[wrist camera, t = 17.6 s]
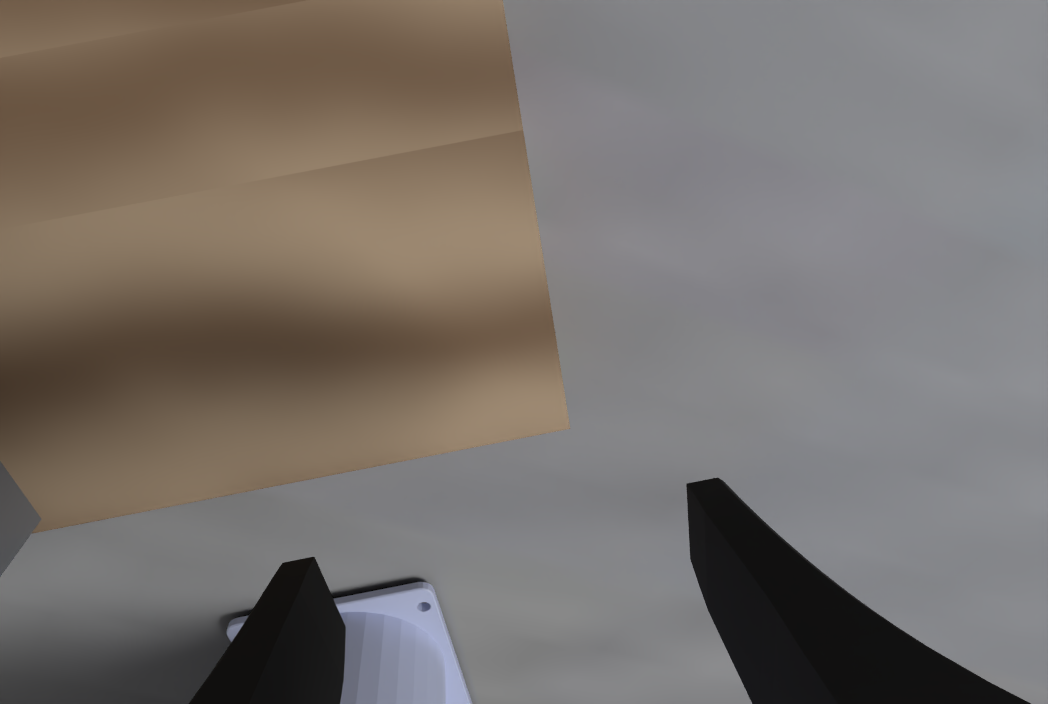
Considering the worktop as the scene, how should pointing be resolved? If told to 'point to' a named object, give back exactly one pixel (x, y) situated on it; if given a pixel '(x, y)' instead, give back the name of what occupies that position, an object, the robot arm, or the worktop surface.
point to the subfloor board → (260, 246)
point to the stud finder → (13, 518)
